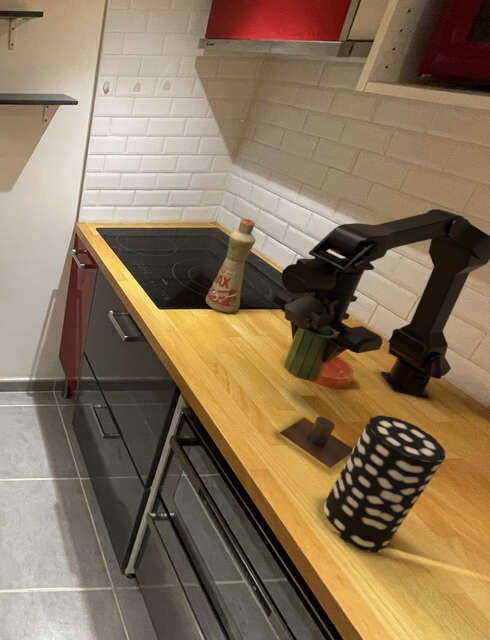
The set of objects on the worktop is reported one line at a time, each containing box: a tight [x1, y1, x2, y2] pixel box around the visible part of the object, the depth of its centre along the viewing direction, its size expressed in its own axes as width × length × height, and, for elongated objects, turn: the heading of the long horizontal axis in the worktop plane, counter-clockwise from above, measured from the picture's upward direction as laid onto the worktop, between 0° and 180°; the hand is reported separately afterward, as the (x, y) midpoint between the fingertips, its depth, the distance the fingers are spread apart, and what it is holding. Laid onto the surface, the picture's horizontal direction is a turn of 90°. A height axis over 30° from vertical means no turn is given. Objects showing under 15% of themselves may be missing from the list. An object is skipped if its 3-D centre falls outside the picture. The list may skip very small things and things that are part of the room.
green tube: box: [283, 326, 339, 382], centre depth 94 cm, size 6×6×11 cm
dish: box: [310, 355, 355, 389], centre depth 106 cm, size 12×12×4 cm
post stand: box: [279, 416, 354, 469], centre depth 86 cm, size 9×9×6 cm
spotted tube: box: [323, 415, 447, 553], centre depth 69 cm, size 8×8×20 cm
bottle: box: [205, 218, 256, 314], centre depth 127 cm, size 9×9×28 cm
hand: (309, 351), depth 94 cm, fingers closed on green tube, 6 cm apart
